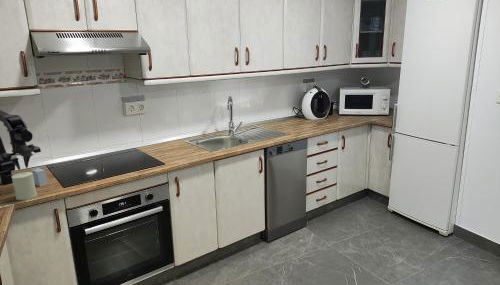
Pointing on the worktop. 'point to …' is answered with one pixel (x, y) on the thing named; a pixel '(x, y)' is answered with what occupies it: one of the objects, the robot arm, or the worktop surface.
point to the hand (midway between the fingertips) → (23, 168)
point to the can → (24, 185)
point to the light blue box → (39, 177)
